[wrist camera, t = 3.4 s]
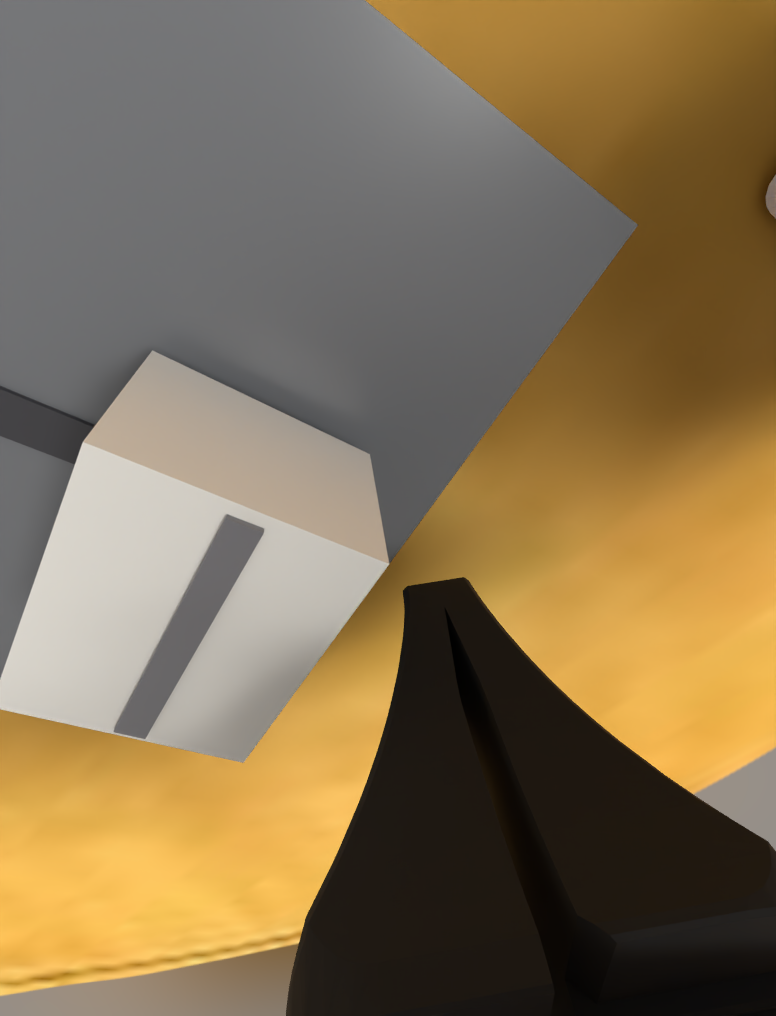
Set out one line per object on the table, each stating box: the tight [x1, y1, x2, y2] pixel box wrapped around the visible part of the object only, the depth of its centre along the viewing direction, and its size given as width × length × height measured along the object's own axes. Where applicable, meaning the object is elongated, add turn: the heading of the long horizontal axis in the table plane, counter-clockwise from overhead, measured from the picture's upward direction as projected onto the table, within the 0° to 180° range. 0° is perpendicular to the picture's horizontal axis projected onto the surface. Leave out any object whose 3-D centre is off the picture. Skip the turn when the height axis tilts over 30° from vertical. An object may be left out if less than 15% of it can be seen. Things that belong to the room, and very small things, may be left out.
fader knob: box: [0, 350, 389, 763], centre depth 9 cm, size 4×5×4 cm
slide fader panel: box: [0, 0, 638, 678], centre depth 11 cm, size 16×16×3 cm
